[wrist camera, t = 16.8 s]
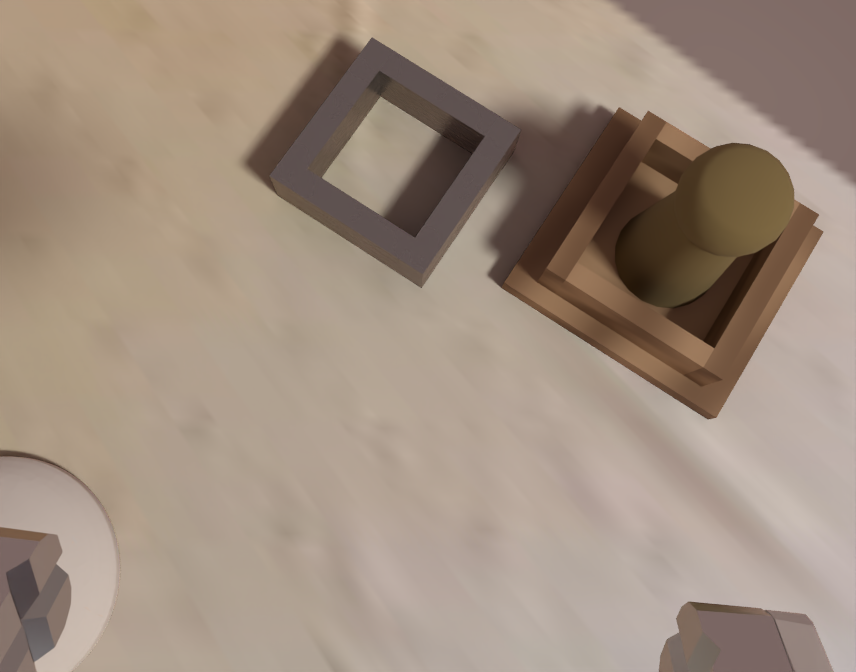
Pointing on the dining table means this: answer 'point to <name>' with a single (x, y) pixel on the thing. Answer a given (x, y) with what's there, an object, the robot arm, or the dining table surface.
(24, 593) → the robot arm
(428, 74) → the socket block
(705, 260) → the cork
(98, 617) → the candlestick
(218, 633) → the dining table surface
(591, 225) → the walnut rack
